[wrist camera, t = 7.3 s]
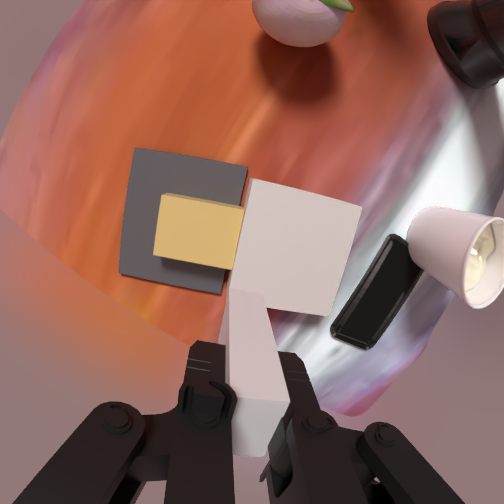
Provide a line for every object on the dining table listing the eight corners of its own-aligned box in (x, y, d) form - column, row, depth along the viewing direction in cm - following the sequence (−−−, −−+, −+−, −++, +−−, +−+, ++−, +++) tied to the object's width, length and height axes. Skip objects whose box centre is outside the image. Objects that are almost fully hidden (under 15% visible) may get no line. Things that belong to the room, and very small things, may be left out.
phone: (328, 334, 34) (393, 231, 31) (325, 329, 35) (389, 229, 32) (370, 351, 35) (430, 260, 32) (367, 347, 37) (425, 257, 33)
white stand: (346, 202, 30) (362, 207, 26) (318, 300, 33) (328, 316, 29) (250, 177, 29) (253, 178, 25) (226, 285, 32) (226, 300, 28)
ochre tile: (243, 206, 29) (244, 210, 27) (231, 262, 30) (231, 269, 28) (167, 192, 28) (161, 194, 26) (158, 248, 29) (153, 254, 27)
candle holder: (459, 209, 31) (522, 228, 20) (442, 275, 34) (497, 310, 23) (411, 191, 30) (480, 206, 19) (392, 267, 33) (450, 308, 21)
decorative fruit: (247, 58, 25) (255, 13, 15) (248, 3, 23) (255, -48, 13) (331, 66, 26) (370, 32, 16) (327, 12, 23) (358, -31, 14)
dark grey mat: (247, 167, 28) (247, 167, 28) (220, 292, 32) (220, 294, 31) (136, 148, 27) (134, 147, 26) (120, 271, 30) (118, 273, 30)
